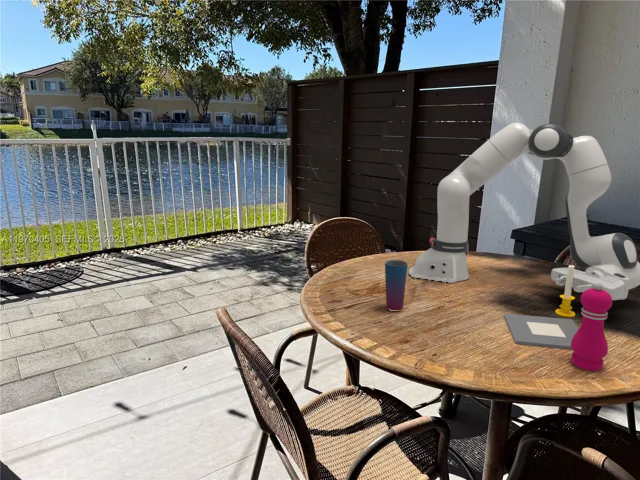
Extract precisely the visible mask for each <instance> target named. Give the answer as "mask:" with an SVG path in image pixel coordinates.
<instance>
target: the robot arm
mask: <svg viewBox="0 0 640 480" xmlns="http://www.w3.org/2000/svg"><path fill="white" fill-rule="evenodd" d="M526 153H528V154H530V155H532V156H534V157H535V158H537V159H539V160H541V161H552V160H555V159H558V160H560V161H561V162H562V163H563V165H564V167H565V170H566V174H567V177H568V182H569V190H568V193H567V194H566V195H565V212H566V220H567V227H568V232H569V233H568V234H569V254H570V258H571V260H572V261H573V262H574V263H575V265H576V266H578V267H580V268H582V269H585V271H582V270H579V269H576V268H574V275H573V283H572V289H573V291H574V292H576V293H583V292H584V291H585V290H587V289H591V288H594V284H595V283H601V284H602V285H603V289H602V290H604V291H606V292H608V293H609V294H610V295H611V297H612V301H617V300H618V301H619V300H625V299H626V300H627V297H628V294H629V291H630V290H632V289H635V288H636V287H638V286H640V262H639V261H638V259H639V255H638V254H639V253H638V248H637V245H636V243H635V242H634V241H633V239H632V238H631V237H630V236H629V235H627V234H625V233H624V232H623V233H622V232H615V233H609V234H604V235H598V236H591V235H590V233H589V226H588V219H587V210H588V208H589V206H591V204H592V203H593V202H594V201H595V200H597V199H599V198H600V197H601V196H602V195H604V194H605V193H606V192H607V190H608V189H609V188H610V186H611V183H612V173H611V170H610V169H611V168H610V166H609V164H608V161H607V159H606V155H605V154H604V151H603V149H602V147H601V145H600V144H599V142H598V140H597V139H596V138H595V137H594V136H592V135H581V136H577V137H574V136H573V135H571V134H570V133H569V132H568V131H567V130H566V129H564V128H563V127H561V126H560V125H558V124H556V123H555V124H554V123H544V124H540V125H538V126H537V127H536V128H534V129H529V128H528V126H526V125H525V124H523V123H522V122H517V121H516V122H512V123H509V124H507V125H506V126H505V127H504V128H502V129H501V130H499V131H497V132H496V133H494V135H493V136H491V137H490V138H489V139H487V140H486V141H485V142H484V143H483V144H482V145H481V146H480V147H478V148H477V149H476V150H475V151H474V152H472V154H471V155H469V157H467V158H466V159H465V160H464V161H462V163H460V165H458V167H456V168H455V169H454V170H453V171H451V172H450V173H449V174H448V175H447V176H445V177H444V178H443V179H441V180H440V181H439V183H438V186H437V193H436V194H437V201H436V202H437V203H436V204H437V205H436V207H437V229H436V238H435V237H430V239H429V243H430V248H429V249H427V250H425V251H424V252H422V253H421V254H419V255H418V256H417V257H416V260H415V263H414V265H413V266H411V267H410V268H409V270H408V275H409V274H410V275H411V276H413V277H417V278H422V279H421V280H423V279H428V280H427V281H431V280H434V281H433V282H438V281H442V282H441V283H446V282H448V284H454V283H457V282H461V281H465V280H467V279H469V278H470V275H469V270H468V262H467V261H468V260H467V259H468V258H467V257H468V253H469V240H468V234H469V222H470V221H469V219H470V218H469V217H470V196H471V195H472V194H474V193H475V192H476V191H477V190H479V189H480V188H481V187H482V186H484V185H485V184H486V183H488V182H489V181H491V179H492V178H494V177H495V176H496V175H498V174H499V173H500V172H501V171H502V170H503V169H505V168H506V167H507V166H509V165H510V164H511V163H512V162H514V160H516V159H517V158H518V157H520V156H521V155H523V154H526ZM567 272H568V267H557V268H553V269H552V270H551V273H550V279H551V280H552V281H554V282H555V285H557V286H562V287H564V286H566V279H567Z"/></svg>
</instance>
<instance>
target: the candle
mask: <svg viewBox="0 0 640 480" xmlns="http://www.w3.org/2000/svg"><path fill="white" fill-rule="evenodd" d="M567 268H568V272H567V279H566V285H564V286H565V287H564V293H563V294H560V295H559V297H560V298H561V299H562V301H561V304H560V305H559V307H560V308H557V309H555V312H554V313H555V314H556V315H557V316H560V317H563V318H573V317H575V316H576V313H575V312H574V311H573V310H572V309H573V306H572V305H571V303H572V301H573V300H575V298H576V297H575V296H573V295H572V289H573V287H572V283H573V275H574V269H575V265H573V264H570V265H568V267H567Z"/></svg>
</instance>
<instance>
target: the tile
mask: <svg viewBox="0 0 640 480" xmlns="http://www.w3.org/2000/svg"><path fill="white" fill-rule="evenodd" d="M503 317H504V319H505V322H506V325H507V327H508V328H509V331H510V333H511V337H512V338H513V341H514V343H515V344H516V345H524V346H533V347H534V346H535V347H542V348H543V347H545V348H555V349H565V350H572V351H573V349H572V348H571V341H572V338H573V336H574V335H575V333H576V332H577V331H578V329H579V328H580V327H578V326H577V324H576V323H575V321H574V320H573V319H570V318H559V317H549V316H538V315H525V314H514V313H513V314H512V313H504V314H503Z"/></svg>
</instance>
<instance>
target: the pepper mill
mask: <svg viewBox="0 0 640 480" xmlns="http://www.w3.org/2000/svg"><path fill="white" fill-rule="evenodd" d="M602 289H603V285H602V284H601V283H595V284H594V288H591V289H587V290H585V291H584V292H581V295H580V303H581V305H582V306H583V307H581V311H580V314H581V315H582V320H581V324H580V326H579V327H578V328H579V329H578V331H577V332H576V333H575V335H574V336H573V338H572V341H571V348H572V349H573V350H572V349H571V350H572V351H573V352H572V353H571V359H570V362H571V364H573V366H575V367H577V368H579V369H582V370H585V371H591V372H596V371H597V372H598V371H601V370H602V369H603V368H604V367H603V366H604V359H603V358H605V357H606V356H607V355H608V352H609V347H608V346H609V345H608V341H607V338H606V335H605V331H604V330H605V329H604V325H605V320H607V319H608V314H609V312H608V311H609V310H610V309H611V308H612V305H613V300H612V297H611V295H610V294H609V293H608V292H606V291H604V290H602Z"/></svg>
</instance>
